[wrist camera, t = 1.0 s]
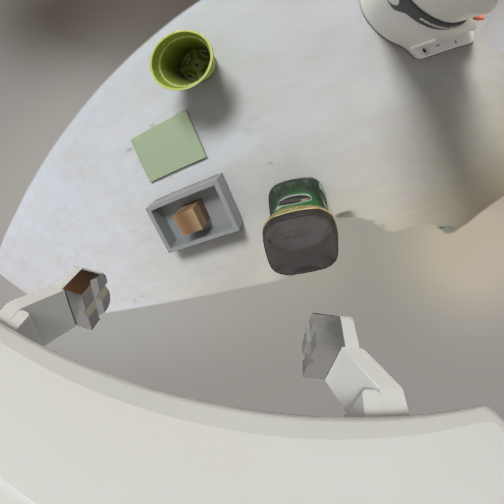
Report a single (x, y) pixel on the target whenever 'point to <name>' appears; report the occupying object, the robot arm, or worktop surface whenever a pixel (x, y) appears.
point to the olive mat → (168, 146)
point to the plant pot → (182, 60)
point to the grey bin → (217, 206)
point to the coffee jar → (299, 228)
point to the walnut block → (191, 217)
